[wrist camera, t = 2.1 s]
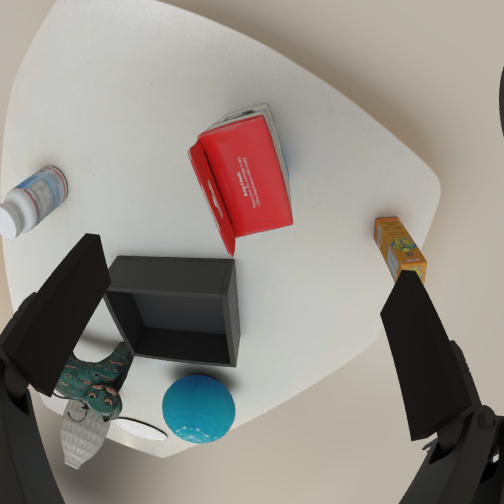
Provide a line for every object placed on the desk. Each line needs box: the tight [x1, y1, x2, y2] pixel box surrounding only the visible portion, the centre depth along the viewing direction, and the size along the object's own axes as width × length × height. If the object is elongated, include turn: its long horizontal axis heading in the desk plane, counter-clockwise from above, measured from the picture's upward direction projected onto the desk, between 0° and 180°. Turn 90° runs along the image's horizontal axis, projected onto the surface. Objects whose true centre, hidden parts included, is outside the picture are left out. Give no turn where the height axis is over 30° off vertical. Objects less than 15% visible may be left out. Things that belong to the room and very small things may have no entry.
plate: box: [115, 418, 167, 441], centre depth 88 cm, size 21×21×1 cm
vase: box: [60, 400, 111, 469], centre depth 55 cm, size 13×13×28 cm
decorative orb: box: [162, 375, 235, 443], centre depth 52 cm, size 15×15×15 cm
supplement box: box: [374, 217, 427, 285], centre depth 30 cm, size 3×4×10 cm
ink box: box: [188, 103, 293, 257], centre depth 23 cm, size 8×5×15 cm, turn 17°
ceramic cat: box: [53, 342, 134, 422], centre depth 45 cm, size 20×6×20 cm, turn 81°
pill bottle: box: [0, 166, 67, 240], centre depth 28 cm, size 6×6×11 cm
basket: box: [103, 256, 240, 367], centre depth 41 cm, size 18×16×7 cm
